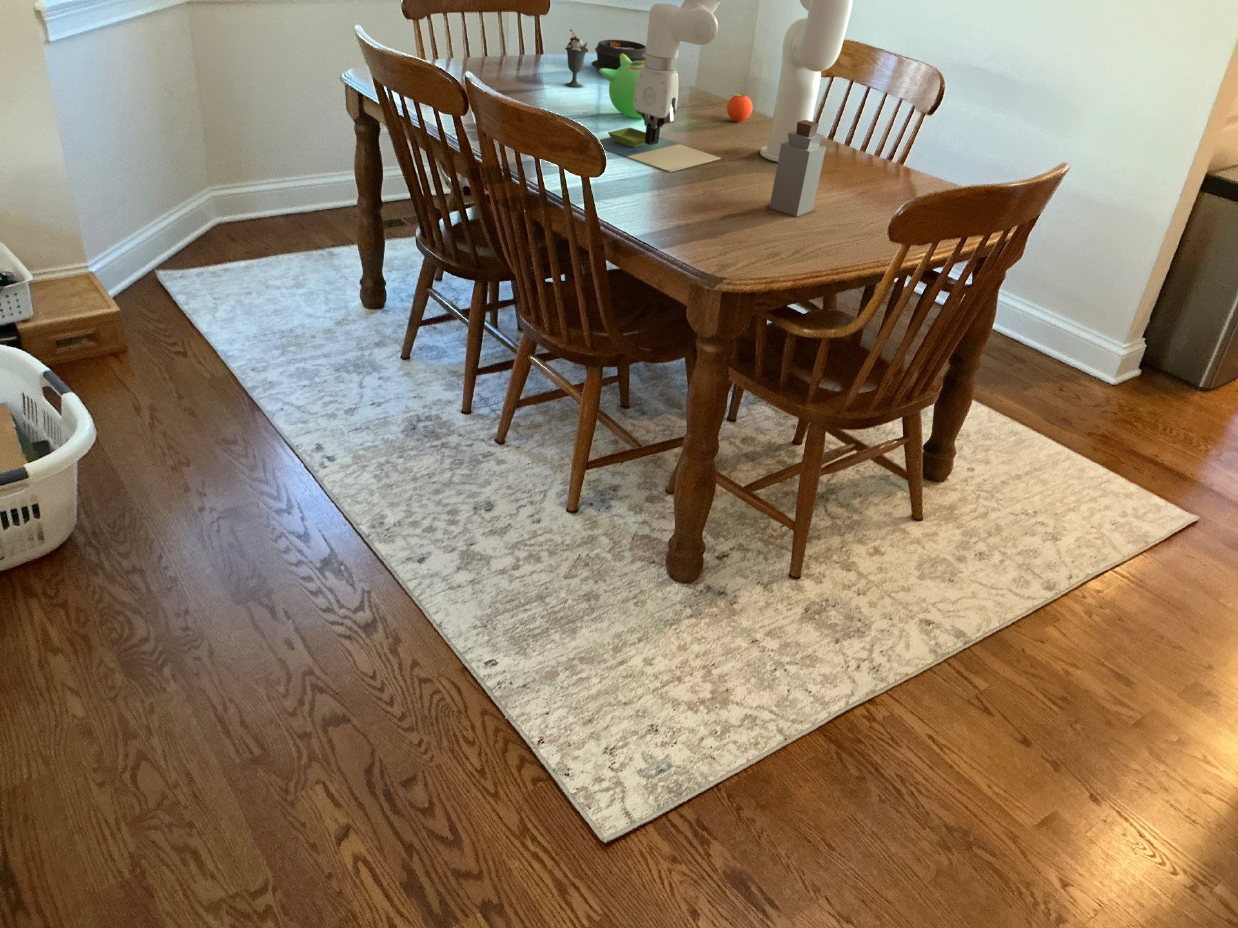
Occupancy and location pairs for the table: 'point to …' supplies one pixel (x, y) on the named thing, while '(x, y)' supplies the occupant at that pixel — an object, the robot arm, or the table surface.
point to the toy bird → (623, 85)
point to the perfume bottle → (798, 170)
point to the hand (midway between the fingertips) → (651, 143)
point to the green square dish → (628, 137)
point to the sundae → (575, 58)
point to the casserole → (617, 53)
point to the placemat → (660, 154)
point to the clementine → (739, 107)
